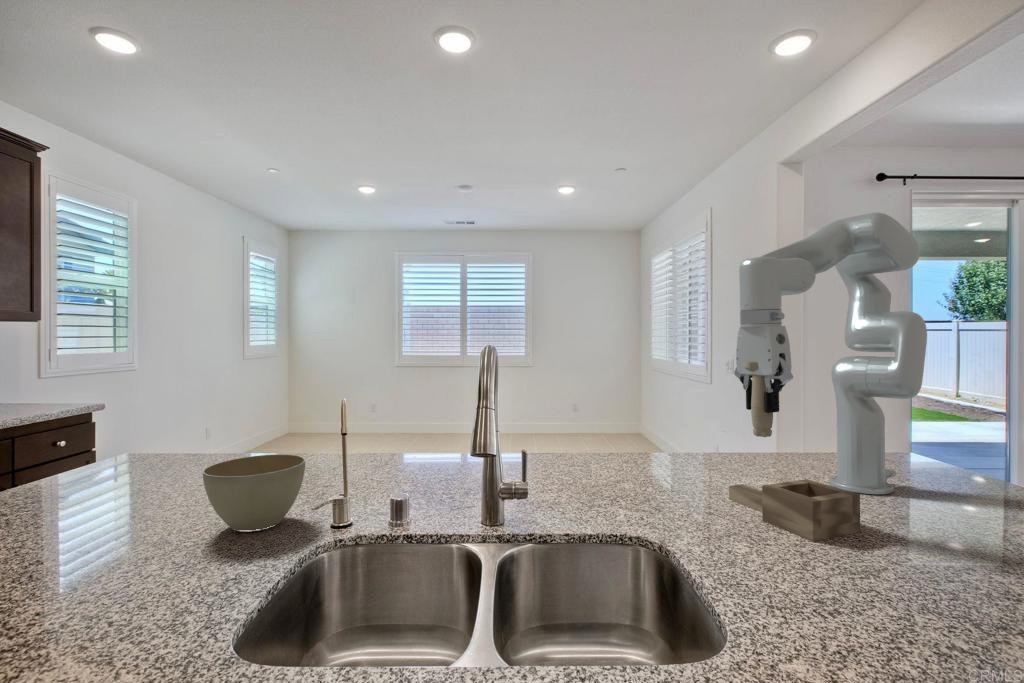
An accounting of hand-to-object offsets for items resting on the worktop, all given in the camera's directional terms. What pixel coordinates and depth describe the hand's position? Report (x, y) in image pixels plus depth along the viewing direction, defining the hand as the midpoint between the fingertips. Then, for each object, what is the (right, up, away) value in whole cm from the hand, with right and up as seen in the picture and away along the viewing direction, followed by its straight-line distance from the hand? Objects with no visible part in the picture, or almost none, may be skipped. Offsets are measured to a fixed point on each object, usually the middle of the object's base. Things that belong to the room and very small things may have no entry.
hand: (762, 409), depth 101 cm
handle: (0, -5, 0) cm, 5 cm away
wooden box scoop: (+4, -22, +1) cm, 22 cm away
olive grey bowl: (-101, -23, -2) cm, 104 cm away
